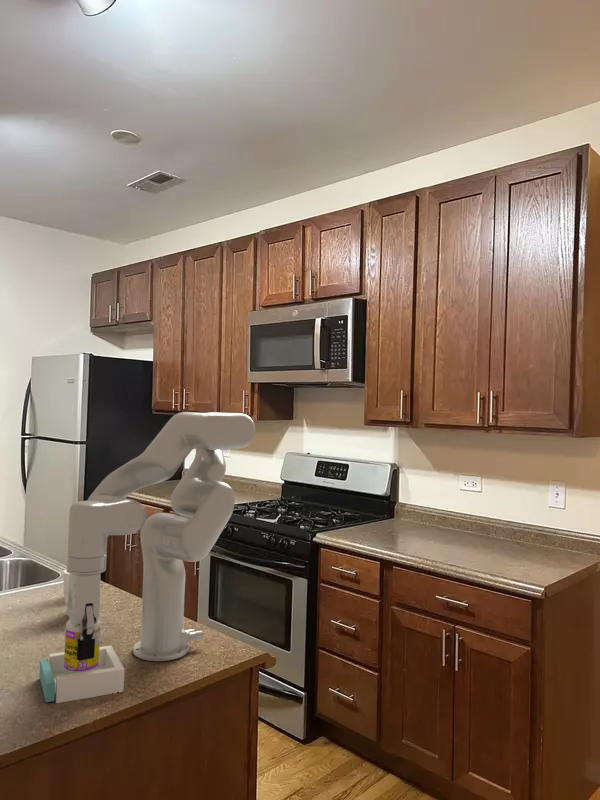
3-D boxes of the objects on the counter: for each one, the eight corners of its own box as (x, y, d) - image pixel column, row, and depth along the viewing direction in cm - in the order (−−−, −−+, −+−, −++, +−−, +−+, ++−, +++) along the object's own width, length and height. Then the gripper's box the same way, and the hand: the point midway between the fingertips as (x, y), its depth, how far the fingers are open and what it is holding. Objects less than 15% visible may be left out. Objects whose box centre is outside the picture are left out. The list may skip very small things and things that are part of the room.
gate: (47, 675, 129) (47, 658, 130) (54, 700, 119) (55, 682, 119) (39, 676, 129) (40, 659, 129) (45, 702, 118) (46, 683, 118)
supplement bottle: (56, 674, 124) (59, 609, 125) (75, 661, 131) (78, 599, 131) (86, 679, 123) (89, 612, 123) (104, 666, 129) (107, 603, 129)
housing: (110, 666, 136) (111, 645, 136) (123, 691, 124) (124, 668, 124) (48, 675, 130) (49, 653, 130) (56, 703, 119) (57, 679, 119)
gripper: (61, 554, 133) (57, 639, 133) (73, 575, 118) (68, 671, 117) (97, 552, 137) (94, 634, 136) (114, 572, 121) (110, 665, 121)
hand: (82, 651), depth 127 cm, fingers closed on supplement bottle, 6 cm apart
